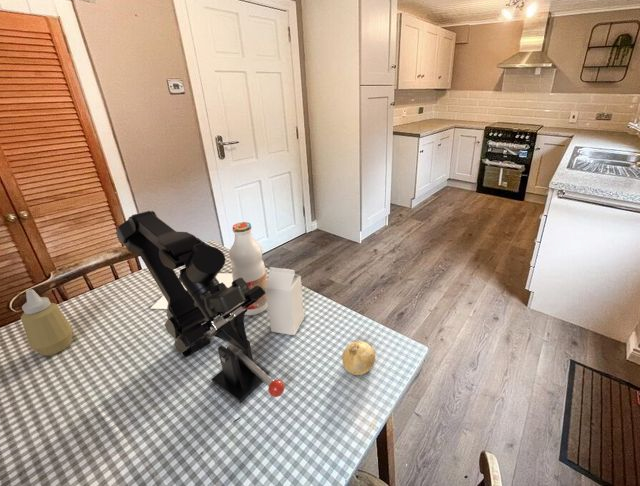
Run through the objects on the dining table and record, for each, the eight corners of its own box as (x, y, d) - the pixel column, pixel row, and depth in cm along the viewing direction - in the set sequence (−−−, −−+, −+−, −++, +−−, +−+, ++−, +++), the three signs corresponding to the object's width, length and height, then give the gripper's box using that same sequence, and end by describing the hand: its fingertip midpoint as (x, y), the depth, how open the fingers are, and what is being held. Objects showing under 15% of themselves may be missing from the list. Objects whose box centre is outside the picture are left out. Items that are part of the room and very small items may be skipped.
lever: (286, 391, 65) (288, 382, 63) (275, 403, 62) (277, 395, 60) (236, 346, 70) (237, 337, 69) (224, 356, 68) (224, 347, 66)
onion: (354, 348, 80) (353, 327, 77) (380, 361, 76) (381, 340, 73) (336, 371, 73) (335, 349, 71) (364, 386, 70) (364, 363, 67)
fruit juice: (271, 311, 93) (260, 229, 83) (239, 319, 90) (223, 234, 79) (268, 293, 101) (257, 216, 91) (237, 300, 98) (223, 221, 87)
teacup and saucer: (212, 293, 101) (210, 283, 99) (188, 293, 101) (186, 283, 99) (224, 278, 109) (222, 268, 108) (202, 278, 109) (200, 268, 108)
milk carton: (294, 336, 84) (288, 277, 77) (271, 332, 85) (262, 274, 78) (304, 318, 90) (299, 263, 83) (282, 315, 92) (276, 260, 85)
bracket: (268, 376, 72) (263, 341, 68) (240, 404, 65) (232, 367, 61) (241, 358, 77) (234, 324, 73) (212, 382, 70) (203, 347, 66)
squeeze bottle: (83, 341, 81) (59, 285, 75) (44, 364, 75) (13, 305, 68) (68, 332, 85) (43, 277, 78) (28, 353, 78) (-3, 295, 71)
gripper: (168, 300, 52) (219, 375, 51) (255, 254, 67) (296, 311, 66) (155, 319, 59) (200, 386, 58) (237, 273, 74) (274, 326, 73)
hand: (246, 349), depth 63 cm, fingers closed
